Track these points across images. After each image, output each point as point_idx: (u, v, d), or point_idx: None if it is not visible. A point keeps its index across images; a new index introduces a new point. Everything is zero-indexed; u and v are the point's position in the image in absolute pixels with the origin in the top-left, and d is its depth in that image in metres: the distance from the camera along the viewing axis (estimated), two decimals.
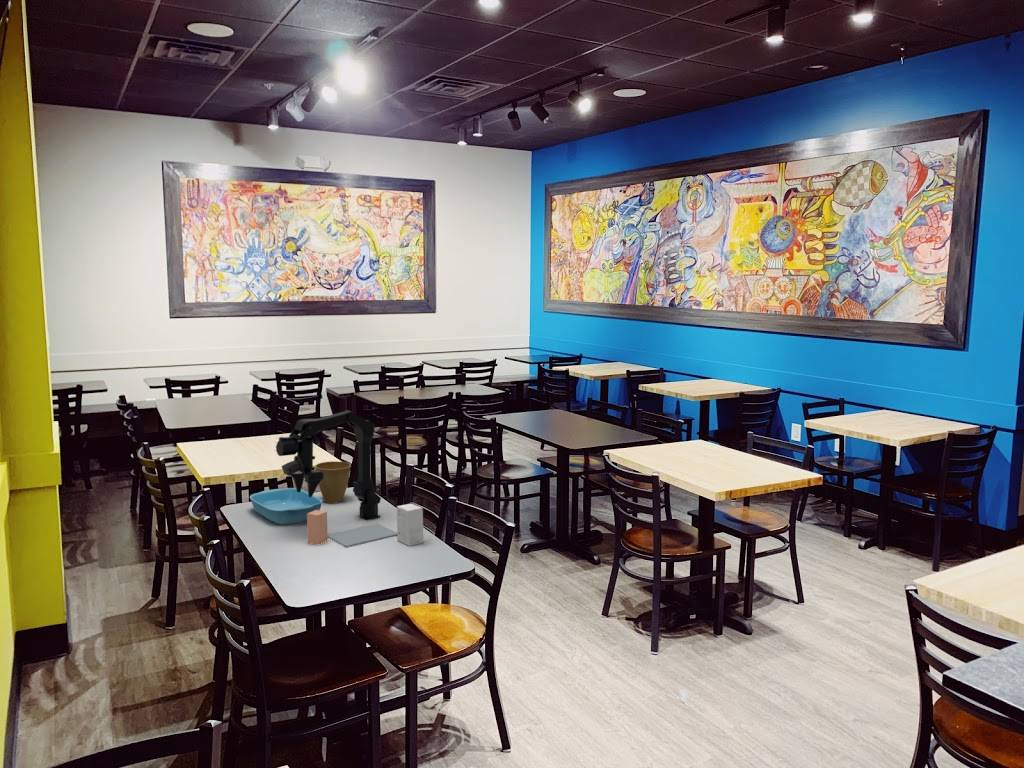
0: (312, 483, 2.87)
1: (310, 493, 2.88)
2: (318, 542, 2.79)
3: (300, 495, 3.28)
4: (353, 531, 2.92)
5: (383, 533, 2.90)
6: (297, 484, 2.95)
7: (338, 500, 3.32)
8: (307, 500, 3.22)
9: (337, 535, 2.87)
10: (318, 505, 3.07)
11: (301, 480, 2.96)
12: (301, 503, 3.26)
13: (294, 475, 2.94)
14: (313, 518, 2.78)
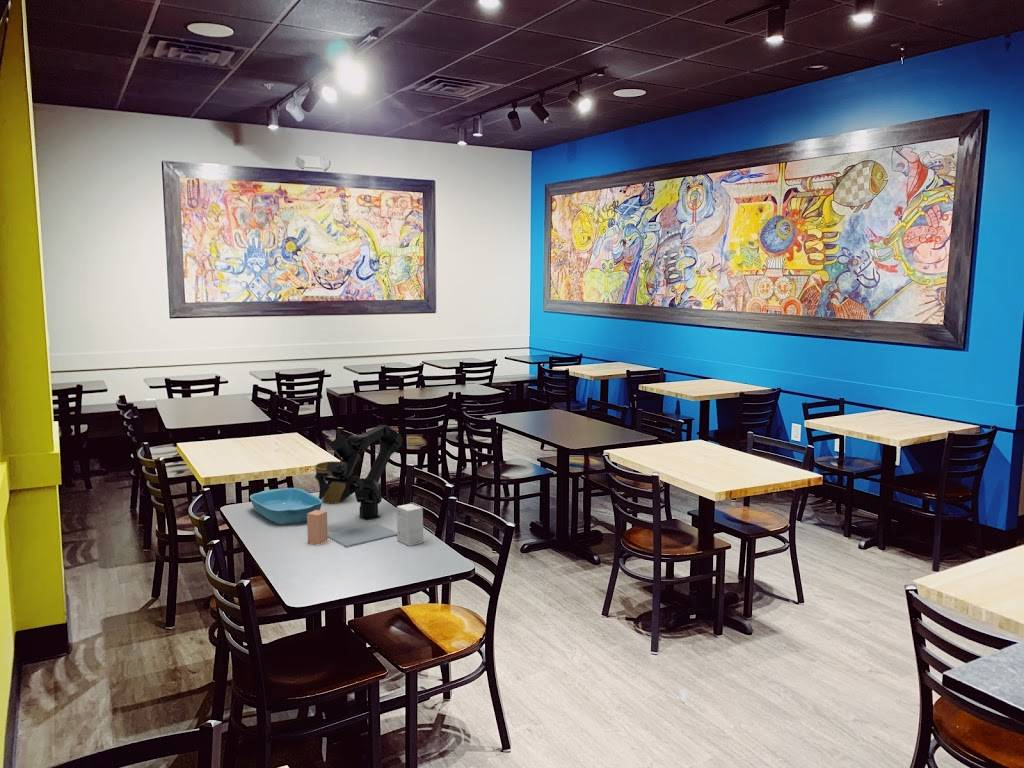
0: (349, 489, 2.88)
1: (343, 497, 2.86)
2: (318, 542, 2.79)
3: (300, 495, 3.28)
4: (353, 531, 2.92)
5: (383, 533, 2.90)
6: (322, 491, 2.91)
7: (338, 500, 3.32)
8: (307, 500, 3.22)
9: (337, 535, 2.87)
10: (318, 505, 3.07)
11: (325, 490, 2.93)
12: (301, 503, 3.26)
13: (324, 481, 2.92)
14: (313, 518, 2.78)
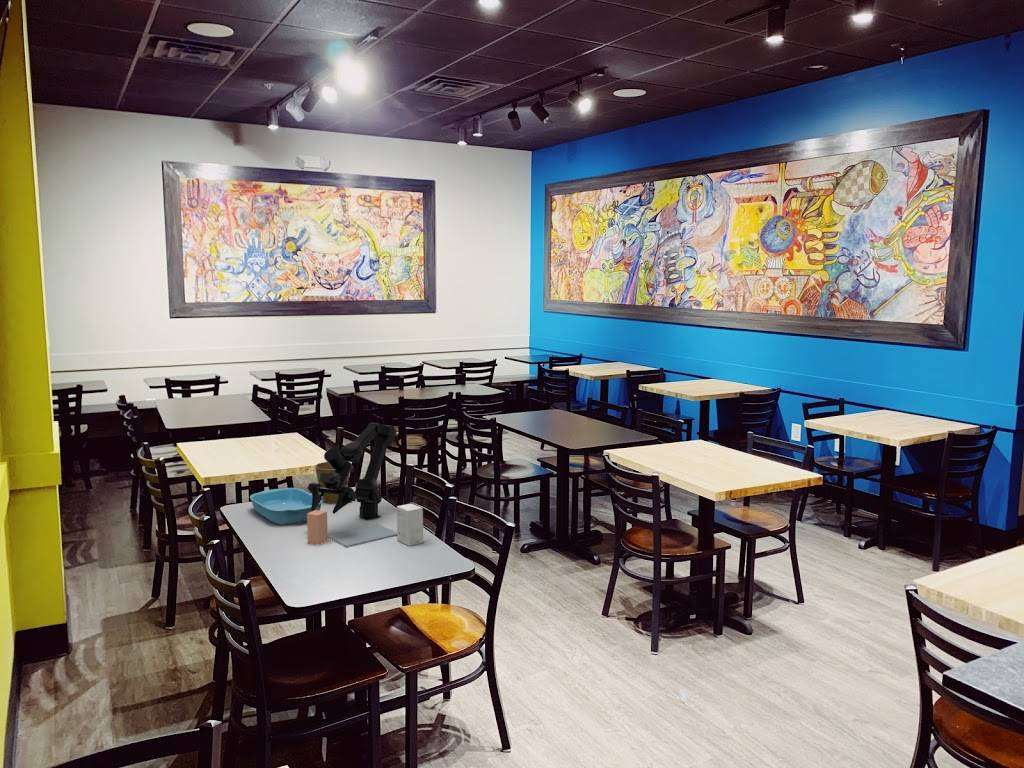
0: (342, 501, 2.85)
1: (336, 509, 2.82)
2: (318, 542, 2.79)
3: (300, 495, 3.28)
4: (353, 531, 2.92)
5: (383, 533, 2.90)
6: (315, 502, 2.87)
7: None
8: (307, 500, 3.22)
9: (337, 535, 2.87)
10: (318, 505, 3.07)
11: (318, 502, 2.89)
12: (301, 503, 3.26)
13: (316, 492, 2.88)
14: (313, 518, 2.78)
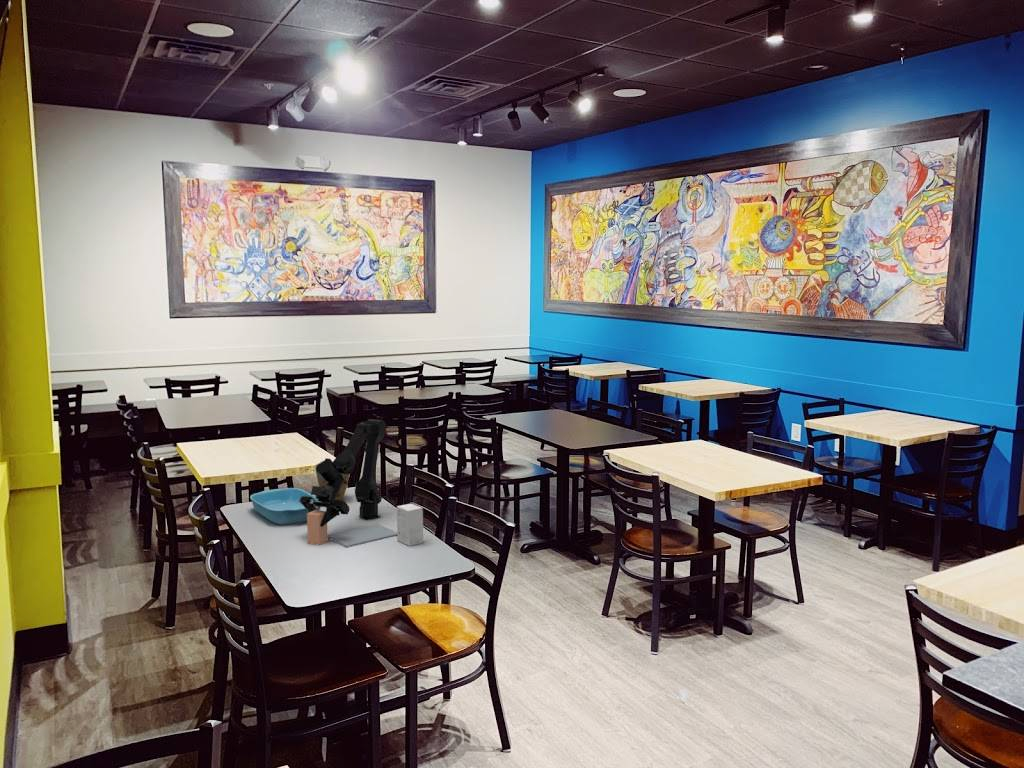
0: (330, 513, 2.81)
1: (323, 522, 2.79)
2: (318, 542, 2.79)
3: (300, 495, 3.28)
4: (353, 531, 2.92)
5: (383, 533, 2.90)
6: None
7: None
8: None
9: (337, 535, 2.87)
10: None
11: None
12: None
13: (313, 506, 2.83)
14: (313, 518, 2.78)
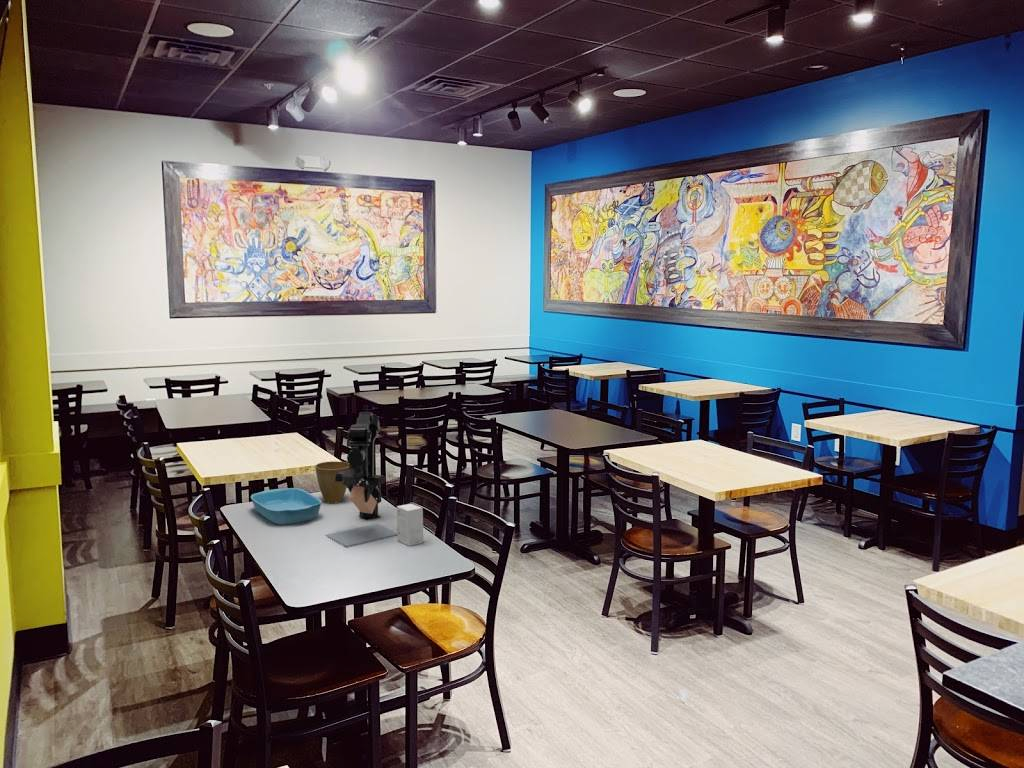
0: (369, 488, 2.86)
1: (367, 498, 2.87)
2: (370, 512, 2.91)
3: (301, 495, 3.28)
4: (353, 531, 2.92)
5: (383, 533, 2.90)
6: None
7: (338, 500, 3.32)
8: (308, 500, 3.22)
9: (337, 535, 2.87)
10: (317, 506, 3.07)
11: None
12: (302, 503, 3.26)
13: (350, 484, 2.87)
14: (356, 499, 2.85)
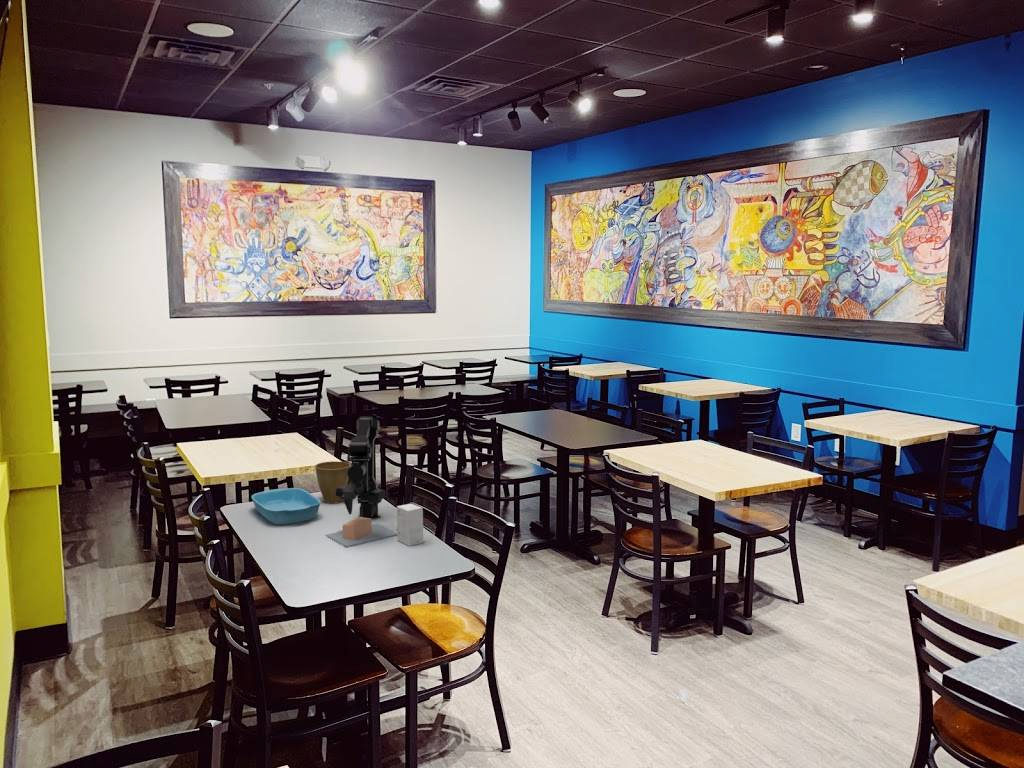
0: (374, 503, 2.86)
1: (372, 513, 2.87)
2: None
3: (302, 495, 3.28)
4: None
5: (383, 533, 2.90)
6: (349, 506, 2.90)
7: (338, 500, 3.32)
8: (308, 500, 3.22)
9: (337, 535, 2.87)
10: (315, 506, 3.06)
11: (351, 501, 2.92)
12: (303, 503, 3.25)
13: (346, 498, 2.89)
14: None
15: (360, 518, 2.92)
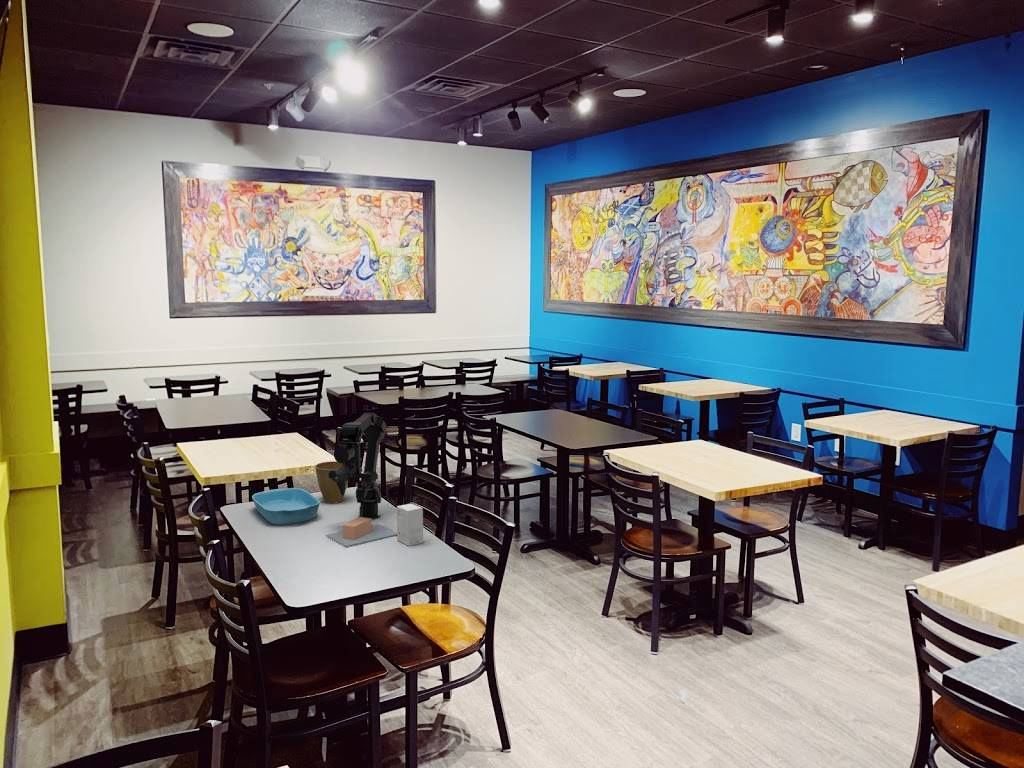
0: (366, 484, 2.93)
1: (364, 494, 2.93)
2: None
3: (303, 495, 3.28)
4: None
5: (383, 533, 2.90)
6: (342, 488, 2.96)
7: (338, 500, 3.32)
8: (308, 501, 3.21)
9: (337, 535, 2.87)
10: (314, 506, 3.06)
11: (344, 483, 2.98)
12: (303, 503, 3.25)
13: (339, 480, 2.95)
14: None
15: (360, 518, 2.92)
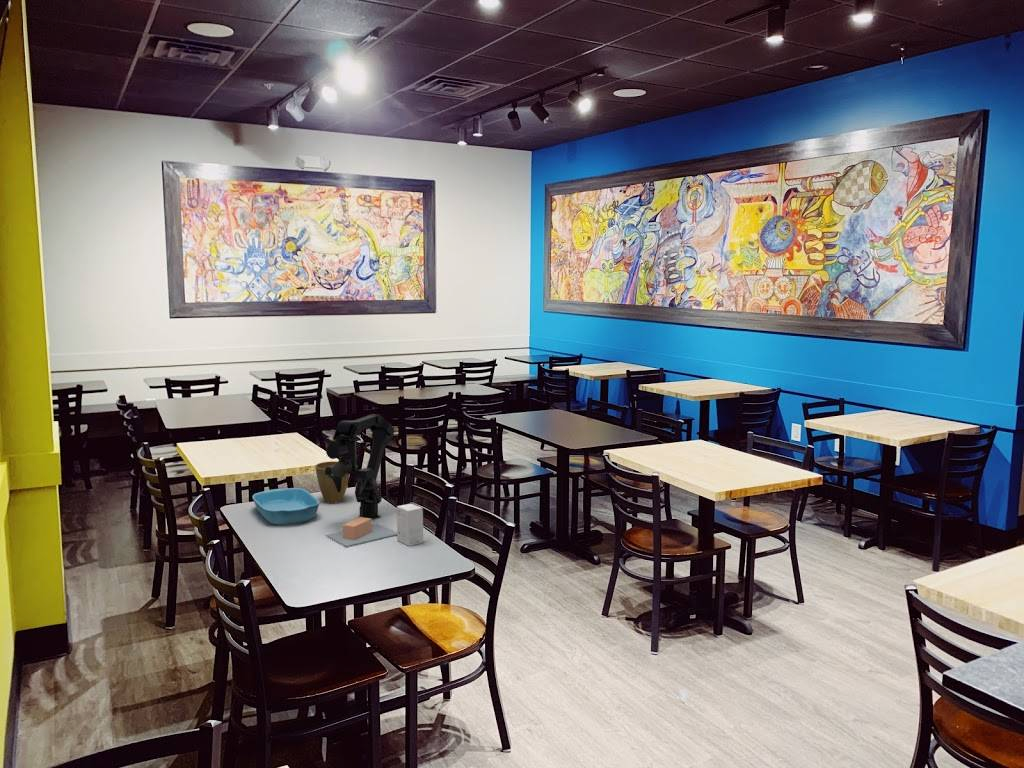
0: (362, 481, 2.96)
1: (360, 491, 2.96)
2: None
3: (303, 495, 3.28)
4: None
5: (383, 533, 2.90)
6: (338, 485, 2.99)
7: (338, 500, 3.32)
8: (308, 501, 3.21)
9: (337, 535, 2.87)
10: (314, 507, 3.05)
11: (340, 480, 3.01)
12: (304, 503, 3.25)
13: (335, 476, 2.98)
14: None
15: (360, 518, 2.92)
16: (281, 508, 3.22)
